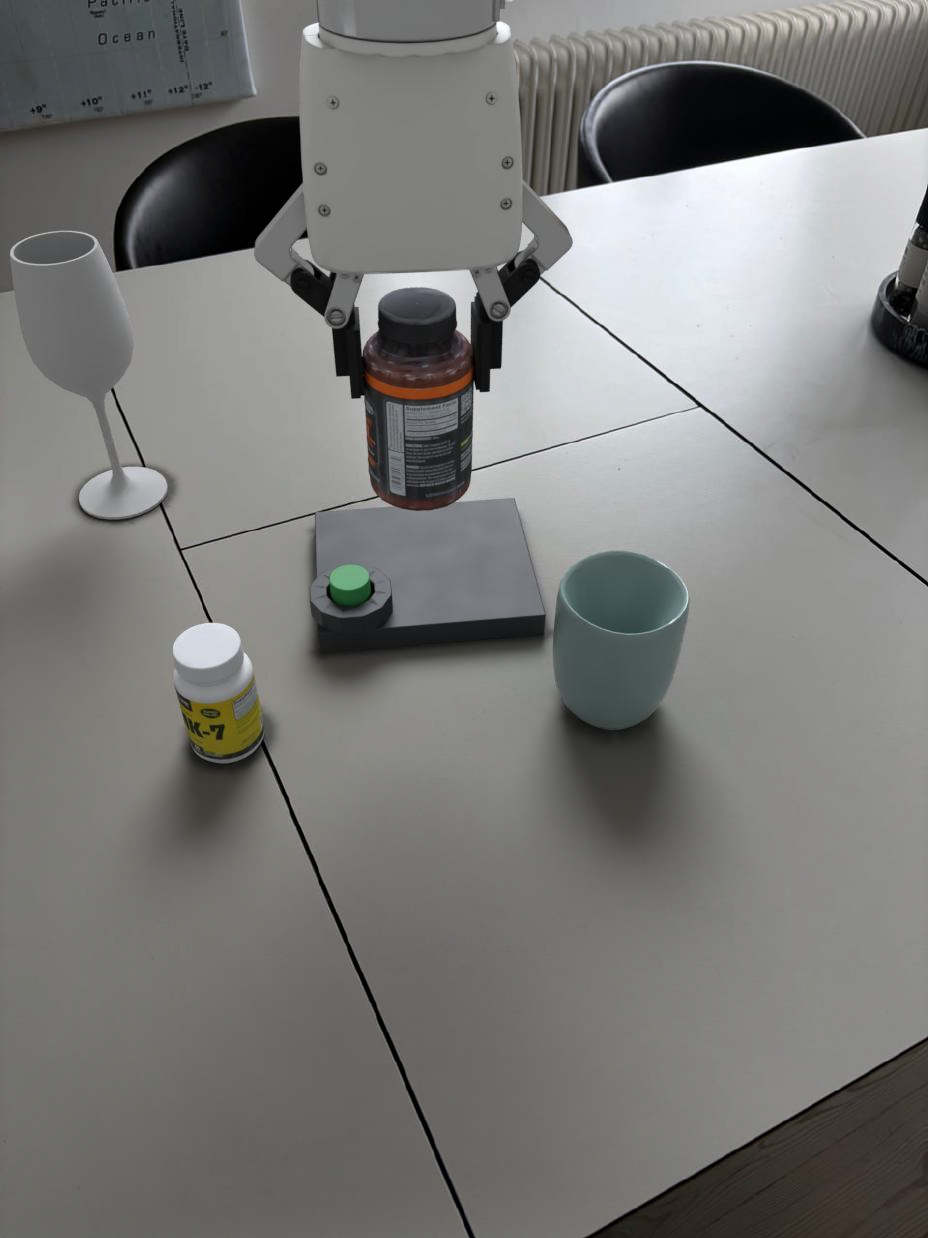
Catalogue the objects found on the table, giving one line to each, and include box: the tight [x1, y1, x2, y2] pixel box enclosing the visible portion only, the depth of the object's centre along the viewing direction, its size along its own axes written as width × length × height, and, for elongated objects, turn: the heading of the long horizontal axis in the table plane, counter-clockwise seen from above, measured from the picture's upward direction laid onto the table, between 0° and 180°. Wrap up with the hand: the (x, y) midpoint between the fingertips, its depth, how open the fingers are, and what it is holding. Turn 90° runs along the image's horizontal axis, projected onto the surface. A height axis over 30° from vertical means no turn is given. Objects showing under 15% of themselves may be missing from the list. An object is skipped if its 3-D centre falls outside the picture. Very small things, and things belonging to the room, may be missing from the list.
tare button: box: [329, 565, 371, 606], centre depth 70 cm, size 3×3×2 cm
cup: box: [552, 550, 691, 731], centre depth 64 cm, size 8×8×10 cm
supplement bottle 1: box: [172, 622, 265, 764], centre depth 62 cm, size 5×5×8 cm
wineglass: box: [9, 230, 169, 521], centre depth 77 cm, size 8×8×21 cm
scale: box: [309, 497, 547, 654], centre depth 75 cm, size 16×14×4 cm
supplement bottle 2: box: [362, 286, 475, 511], centre depth 55 cm, size 6×6×11 cm
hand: (418, 379), depth 54 cm, fingers closed on supplement bottle 2, 6 cm apart
